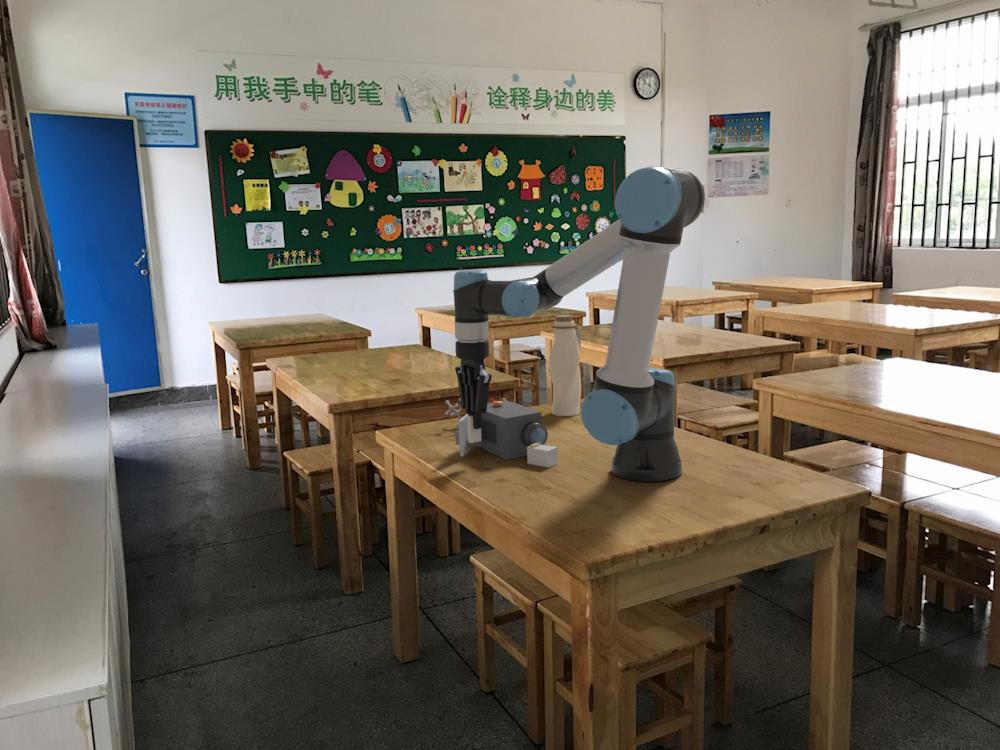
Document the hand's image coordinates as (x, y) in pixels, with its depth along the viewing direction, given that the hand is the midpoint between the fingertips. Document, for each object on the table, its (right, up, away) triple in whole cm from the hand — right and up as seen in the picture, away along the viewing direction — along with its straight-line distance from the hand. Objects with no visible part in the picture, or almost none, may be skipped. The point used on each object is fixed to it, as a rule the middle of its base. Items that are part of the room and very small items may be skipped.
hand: (474, 441), depth 187 cm
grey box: (+8, -3, +12) cm, 15 cm away
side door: (-2, -3, +10) cm, 11 cm away
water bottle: (+25, +4, +47) cm, 54 cm away
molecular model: (-1, 0, +30) cm, 30 cm away
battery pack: (+16, -5, 0) cm, 16 cm away
